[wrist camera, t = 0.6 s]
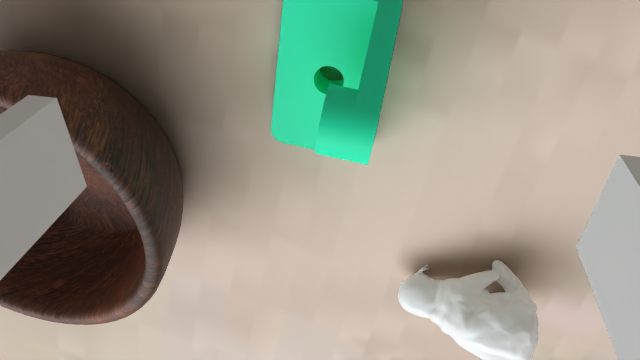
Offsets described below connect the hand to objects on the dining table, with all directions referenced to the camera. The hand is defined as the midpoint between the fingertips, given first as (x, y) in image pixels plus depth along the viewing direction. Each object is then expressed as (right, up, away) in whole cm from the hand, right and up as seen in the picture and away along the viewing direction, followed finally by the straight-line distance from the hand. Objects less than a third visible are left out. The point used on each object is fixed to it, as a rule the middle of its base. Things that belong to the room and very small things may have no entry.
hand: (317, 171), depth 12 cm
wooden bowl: (-23, +2, +34) cm, 41 cm away
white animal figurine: (+14, -10, +35) cm, 38 cm away
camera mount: (+1, +8, +24) cm, 26 cm away
